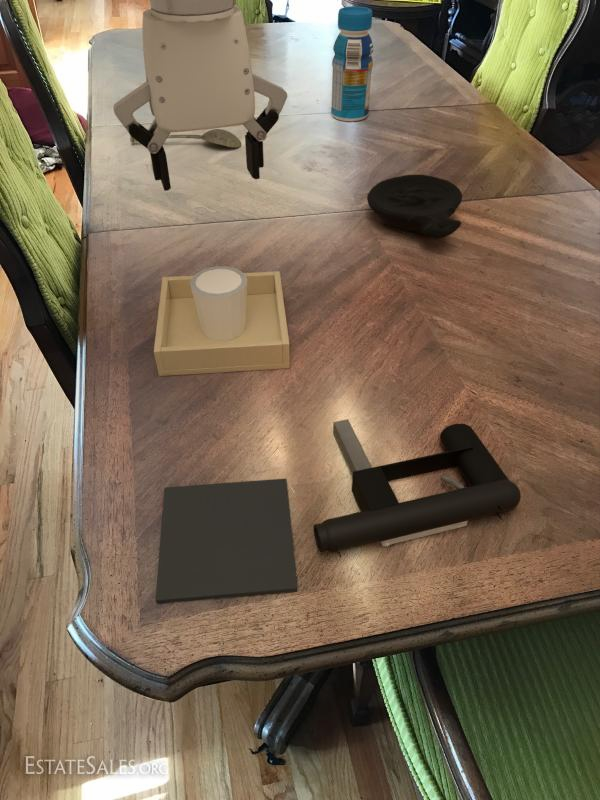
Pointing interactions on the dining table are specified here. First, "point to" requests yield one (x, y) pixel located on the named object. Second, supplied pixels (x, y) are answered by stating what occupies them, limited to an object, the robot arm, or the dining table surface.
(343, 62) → the beverage bottle
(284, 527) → the mat
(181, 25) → the robot arm
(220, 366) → the caddy
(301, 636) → the dining table surface
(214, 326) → the shot glass
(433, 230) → the black cap
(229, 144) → the soupspoon
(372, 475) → the door handle
